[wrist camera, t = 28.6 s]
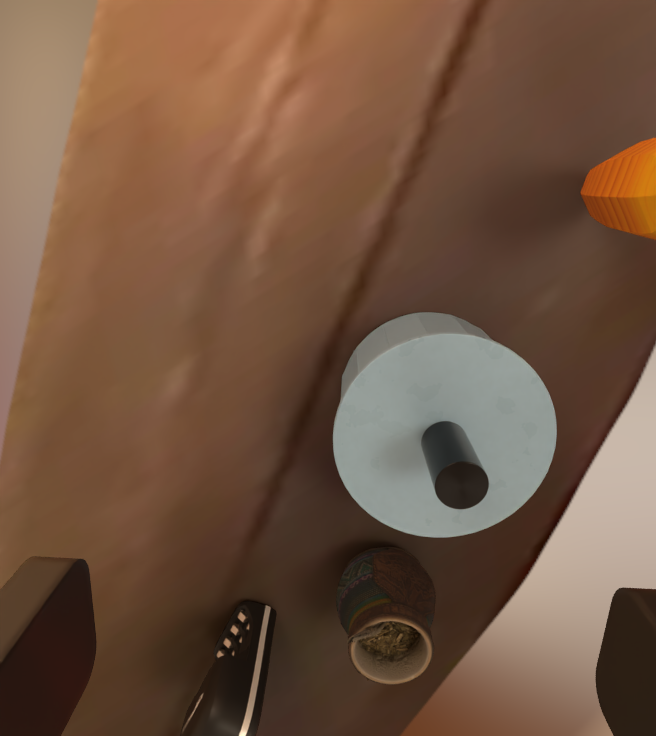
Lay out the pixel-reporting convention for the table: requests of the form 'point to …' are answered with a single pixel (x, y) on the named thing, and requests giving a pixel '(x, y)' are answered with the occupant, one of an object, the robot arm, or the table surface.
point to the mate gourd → (387, 615)
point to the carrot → (625, 190)
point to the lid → (444, 434)
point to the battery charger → (235, 677)
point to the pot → (402, 337)
